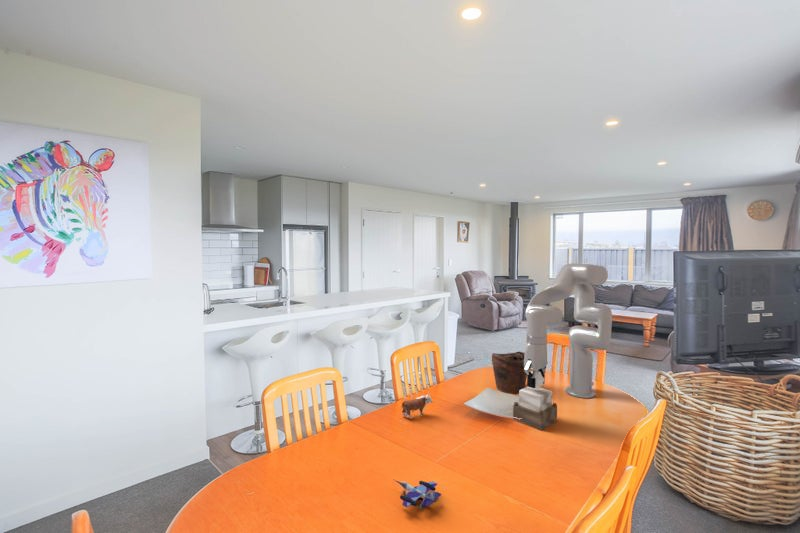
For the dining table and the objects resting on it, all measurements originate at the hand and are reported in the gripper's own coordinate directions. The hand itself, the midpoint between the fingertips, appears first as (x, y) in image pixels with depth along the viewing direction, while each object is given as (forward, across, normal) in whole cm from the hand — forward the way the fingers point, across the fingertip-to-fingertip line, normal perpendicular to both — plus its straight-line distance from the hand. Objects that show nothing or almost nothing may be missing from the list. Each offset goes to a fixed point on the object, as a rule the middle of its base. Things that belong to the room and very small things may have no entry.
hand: (535, 384), depth 157 cm
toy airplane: (+14, +69, +4) cm, 71 cm away
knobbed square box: (+14, 0, 0) cm, 14 cm away
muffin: (+1, 0, 0) cm, 1 cm away
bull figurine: (+14, +32, -34) cm, 49 cm away
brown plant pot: (+15, -23, -26) cm, 38 cm away
